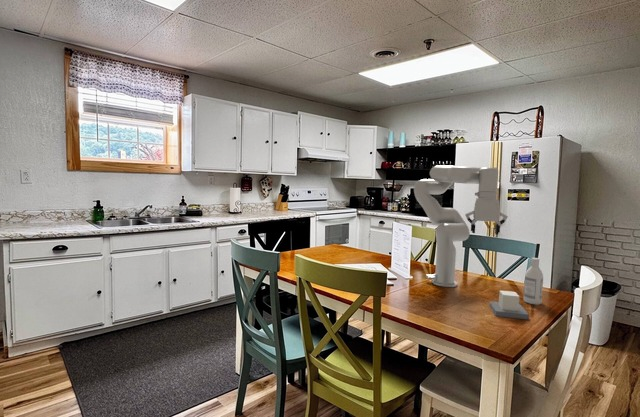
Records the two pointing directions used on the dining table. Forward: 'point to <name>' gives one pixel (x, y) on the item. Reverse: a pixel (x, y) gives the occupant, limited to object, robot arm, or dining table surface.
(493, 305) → the tile
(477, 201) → the robot arm
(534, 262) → the bath foam
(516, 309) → the block
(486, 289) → the dining table surface
